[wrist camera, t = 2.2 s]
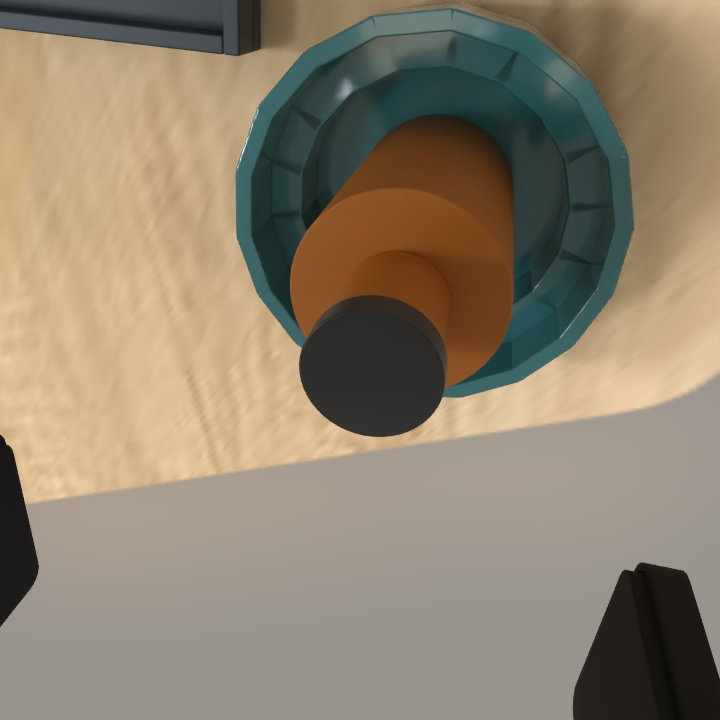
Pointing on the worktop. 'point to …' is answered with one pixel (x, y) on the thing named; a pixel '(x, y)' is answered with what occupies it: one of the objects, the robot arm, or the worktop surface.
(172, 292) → the worktop surface
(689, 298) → the worktop surface
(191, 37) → the tray
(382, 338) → the bottle
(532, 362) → the bowl
